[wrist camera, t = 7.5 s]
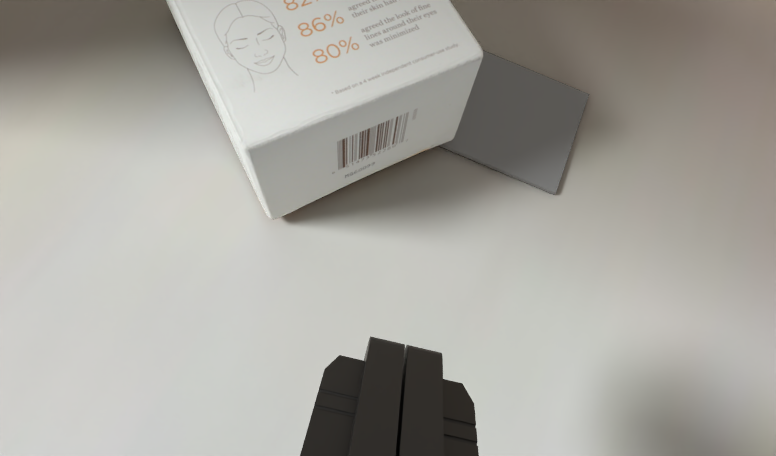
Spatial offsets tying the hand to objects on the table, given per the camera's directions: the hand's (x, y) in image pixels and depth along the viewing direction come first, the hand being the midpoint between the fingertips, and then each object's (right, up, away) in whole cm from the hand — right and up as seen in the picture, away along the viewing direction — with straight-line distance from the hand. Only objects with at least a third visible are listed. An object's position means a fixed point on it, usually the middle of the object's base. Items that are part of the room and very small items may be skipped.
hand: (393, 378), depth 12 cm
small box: (-1, +6, +7) cm, 9 cm away
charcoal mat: (+2, +9, +12) cm, 15 cm away
